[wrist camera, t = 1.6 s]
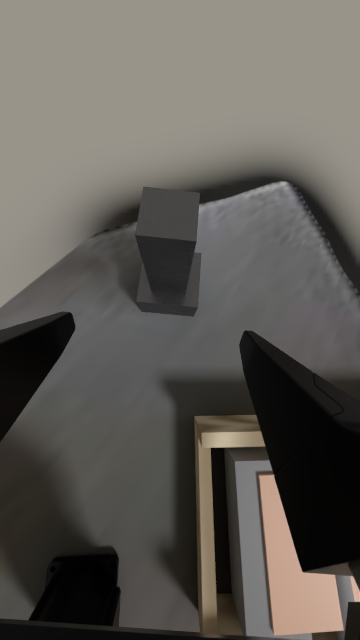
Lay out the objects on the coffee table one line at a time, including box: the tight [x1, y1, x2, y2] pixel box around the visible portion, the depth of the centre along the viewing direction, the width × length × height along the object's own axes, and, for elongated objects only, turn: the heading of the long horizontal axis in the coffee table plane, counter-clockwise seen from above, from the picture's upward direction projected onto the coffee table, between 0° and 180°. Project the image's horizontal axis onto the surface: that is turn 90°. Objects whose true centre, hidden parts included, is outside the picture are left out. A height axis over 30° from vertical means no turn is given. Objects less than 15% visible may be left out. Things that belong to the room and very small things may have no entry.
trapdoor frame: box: [194, 415, 336, 640], centre depth 17 cm, size 26×17×5 cm, turn 90°
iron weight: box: [135, 187, 201, 316], centre depth 18 cm, size 7×7×13 cm
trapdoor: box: [224, 446, 360, 640], centre depth 16 cm, size 22×14×4 cm, turn 90°
